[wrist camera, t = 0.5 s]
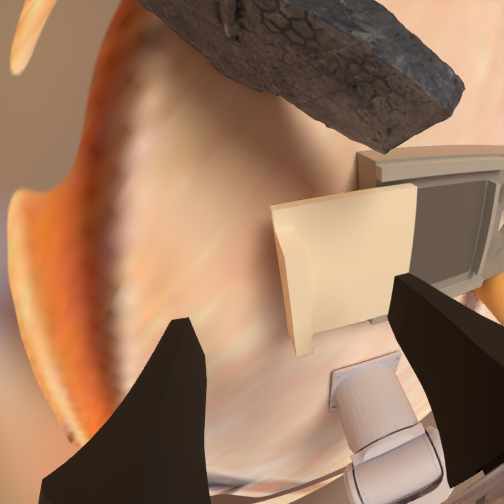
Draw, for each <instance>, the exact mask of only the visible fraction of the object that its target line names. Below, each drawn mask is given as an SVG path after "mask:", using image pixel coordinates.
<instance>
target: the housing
mask: <svg viewBox="0 0 504 504" xmlns="http://www.w3.org/2000/svg"><path fill="white" fill-rule="evenodd" d="M357 163H358V185H359V190H365V189H371V188H378V187H385V186H392V185H399V184H407V183H412V184H413V185H415V186H417V203H416V216H415V227H414V236H413V245H412V253H411V260H410V266H409V273H410V274H412V275H414V276H416V277H418V278H420V279H421V280H423V281H425V282H426V283H428V284H430V285H431V286H433V287H435V288H436V289H438V290H439V291H441V292H443V293H444V294H446V295H448V296H449V297H451V298H454V297H456V296H459V295H461V294H464V293H466V292H469V291H471V290H474V289H476V288H478V287H481V286H482V284H483V281H484V280H486V279H489V278H491V277H493V276H496V275H498V274H500V273H502V272H504V225H503V226H502V228H501V229H500V231H498V229H499V224H500V219H501V214H502V210H503V208H504V146H489V145H457V146H426V147H408V148H394V149H391V150H390V151H389V152H388V153H387V154H385V155H383V154H382V153H379V152H377V151H375V150H370V151H360V152H357ZM387 316H388V314H386V315H382V316H379V317H376V318H372V319H369V320H368V321H369V322H370V323H371V325H375V324H378V323H381V322H385V321H388V318H387Z"/></svg>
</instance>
